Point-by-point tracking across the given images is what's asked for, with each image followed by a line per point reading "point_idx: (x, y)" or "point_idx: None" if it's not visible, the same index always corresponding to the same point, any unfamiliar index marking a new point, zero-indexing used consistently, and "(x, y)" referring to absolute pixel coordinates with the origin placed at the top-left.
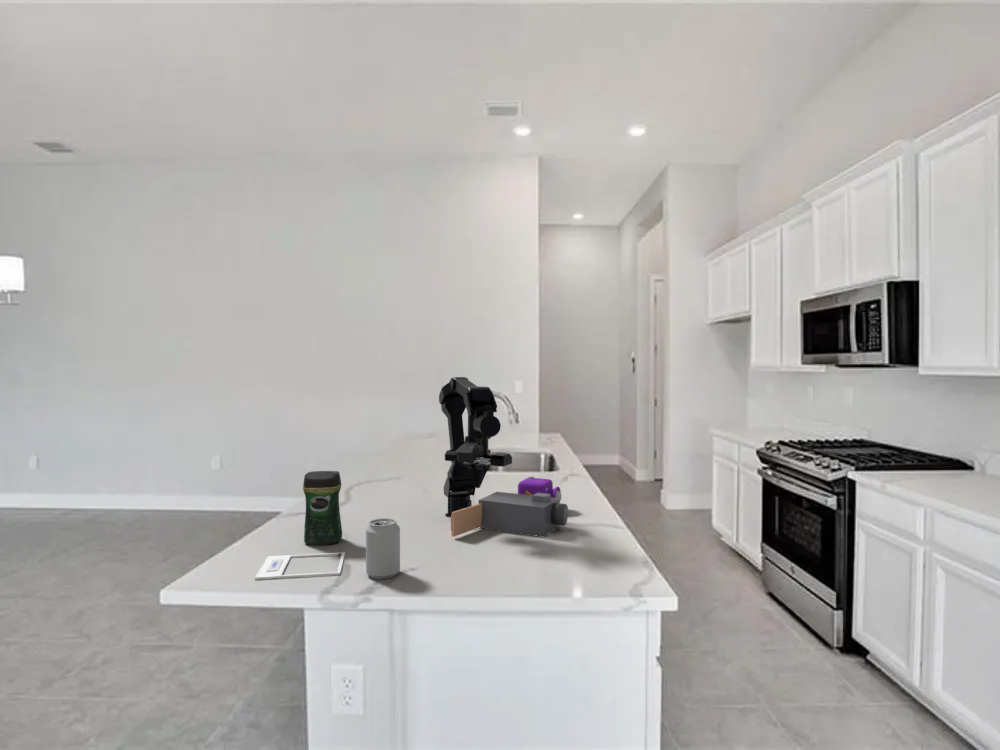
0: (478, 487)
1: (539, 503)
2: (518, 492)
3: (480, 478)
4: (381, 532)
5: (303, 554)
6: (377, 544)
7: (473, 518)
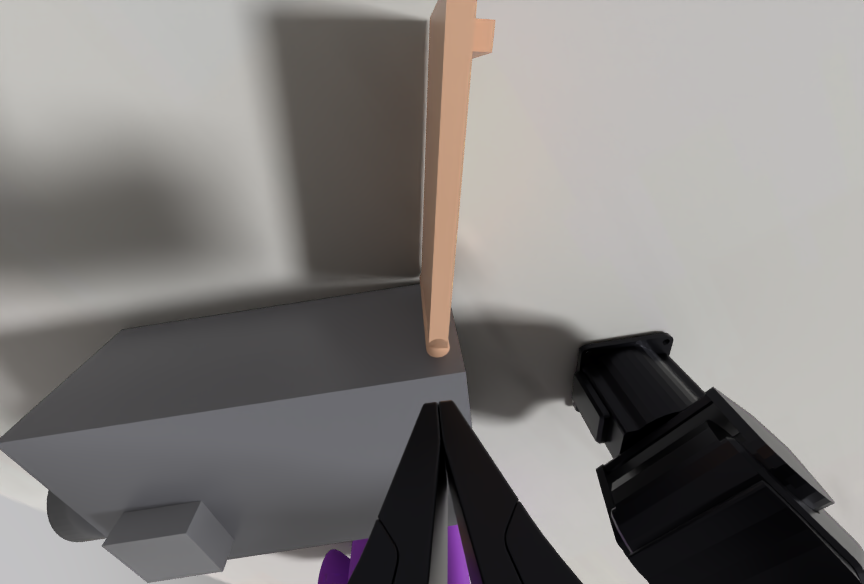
0: (421, 409)
1: (114, 485)
2: (452, 565)
3: (386, 508)
4: None
5: None
6: None
7: (426, 238)
